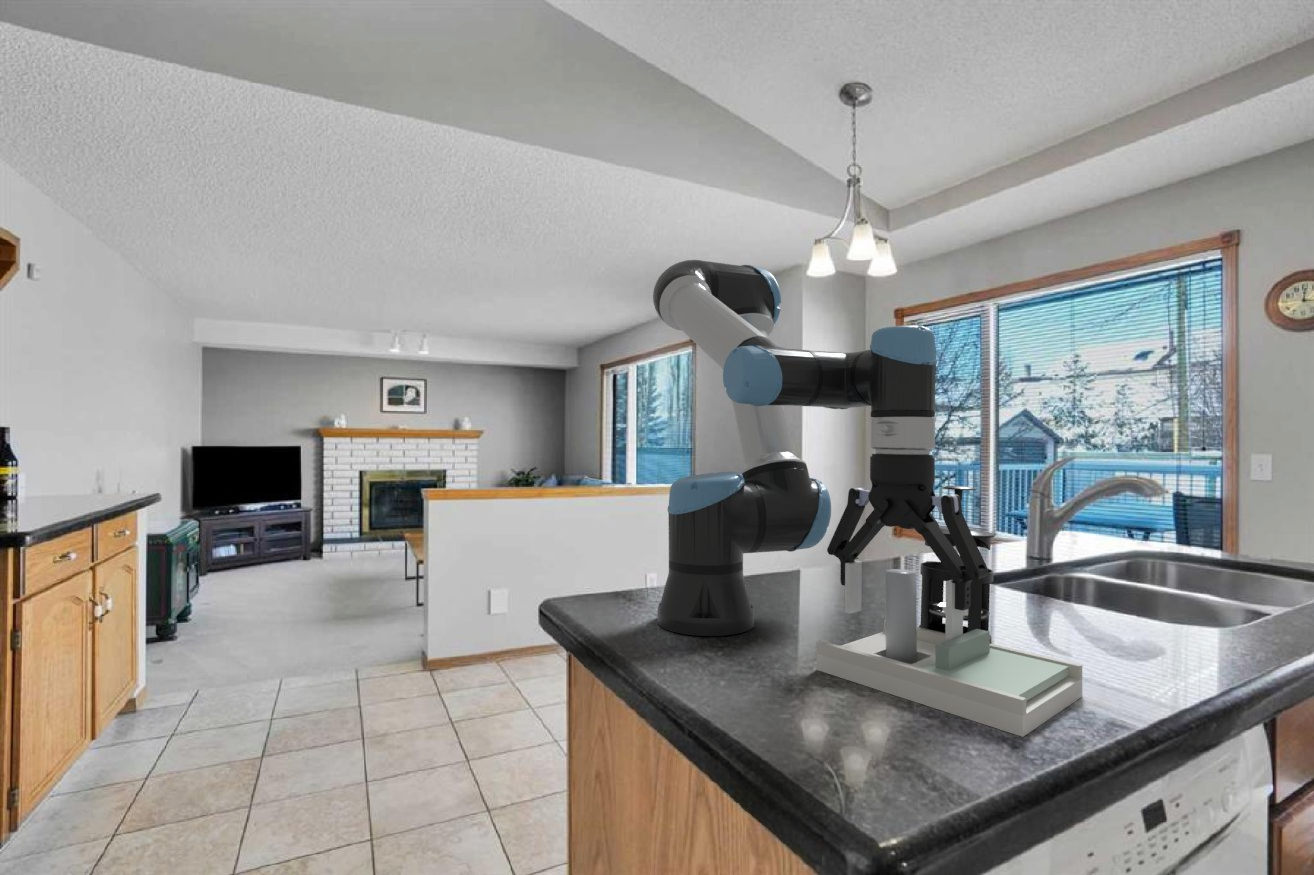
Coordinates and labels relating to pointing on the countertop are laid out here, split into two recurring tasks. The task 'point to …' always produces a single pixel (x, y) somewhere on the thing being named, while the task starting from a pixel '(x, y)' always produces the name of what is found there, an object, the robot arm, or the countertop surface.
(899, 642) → the pin
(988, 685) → the lid
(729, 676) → the countertop surface
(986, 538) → the french press
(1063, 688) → the housing
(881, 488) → the robot arm
